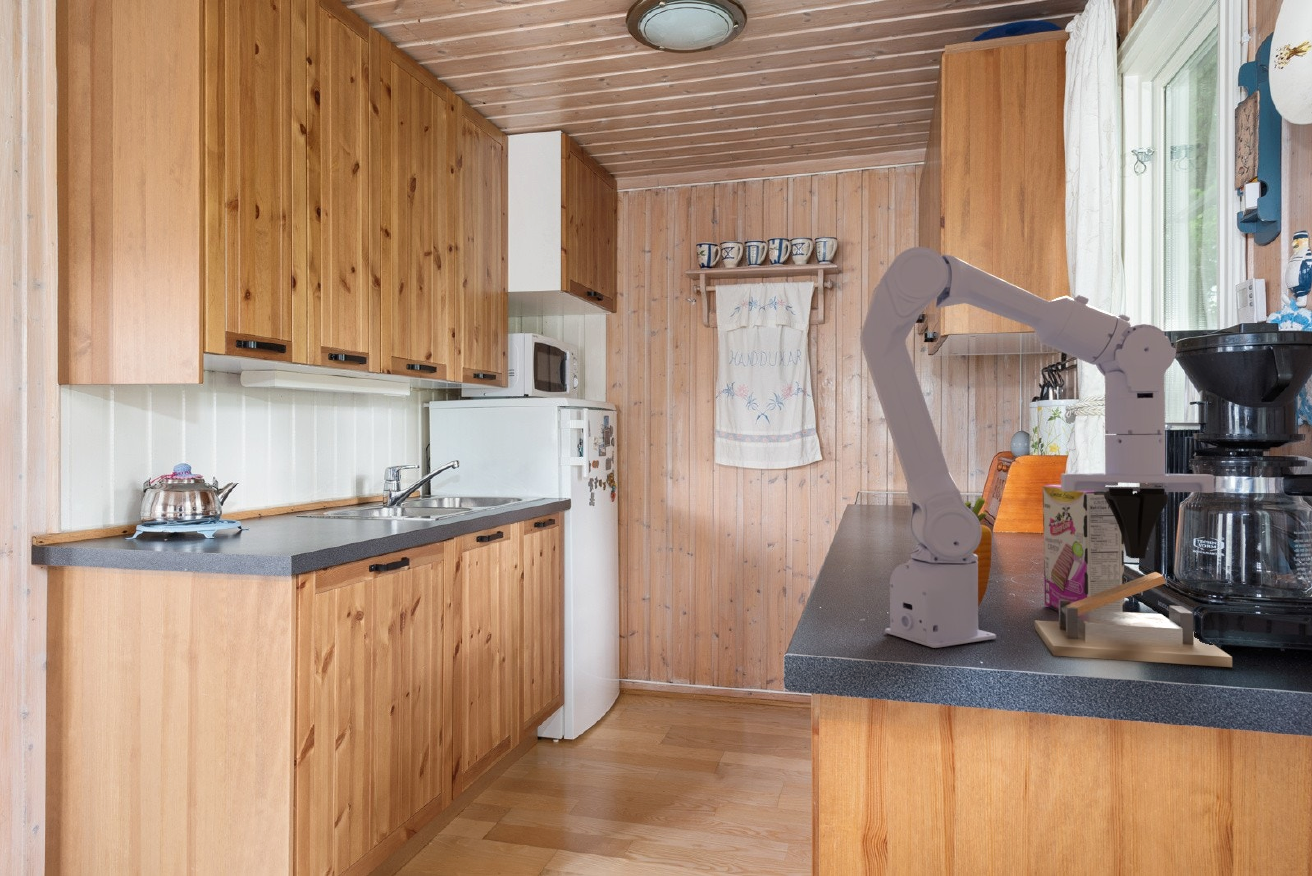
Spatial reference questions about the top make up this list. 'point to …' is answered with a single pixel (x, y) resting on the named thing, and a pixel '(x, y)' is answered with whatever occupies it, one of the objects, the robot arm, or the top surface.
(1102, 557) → the candy bar box
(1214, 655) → the birch board
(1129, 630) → the stone
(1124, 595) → the copper strap
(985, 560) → the carrot
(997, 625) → the top surface
